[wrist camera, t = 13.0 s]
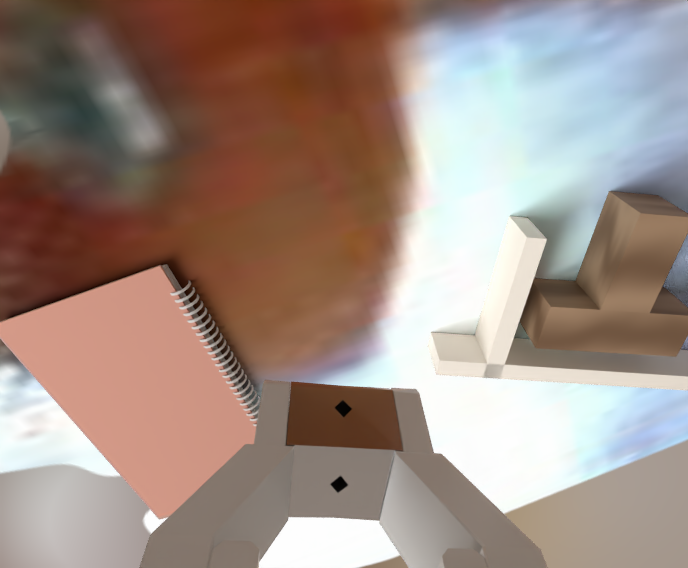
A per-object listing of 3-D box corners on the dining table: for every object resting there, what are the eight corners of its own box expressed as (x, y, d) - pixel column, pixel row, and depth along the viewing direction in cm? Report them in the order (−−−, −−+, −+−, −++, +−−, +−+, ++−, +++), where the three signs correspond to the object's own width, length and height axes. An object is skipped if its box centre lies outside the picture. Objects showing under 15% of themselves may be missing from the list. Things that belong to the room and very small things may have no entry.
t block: (559, 186, 39) (585, 208, 35) (706, 199, 40) (748, 222, 36) (517, 317, 45) (535, 348, 41) (646, 325, 46) (676, 356, 42)
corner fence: (459, 211, 39) (472, 232, 36) (767, 239, 42) (808, 261, 38) (427, 345, 46) (436, 374, 42) (696, 363, 48) (725, 392, 45)
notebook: (304, 466, 54) (303, 481, 52) (163, 505, 56) (158, 521, 55) (177, 251, 41) (171, 263, 39) (1, 314, 43) (-13, 328, 41)
